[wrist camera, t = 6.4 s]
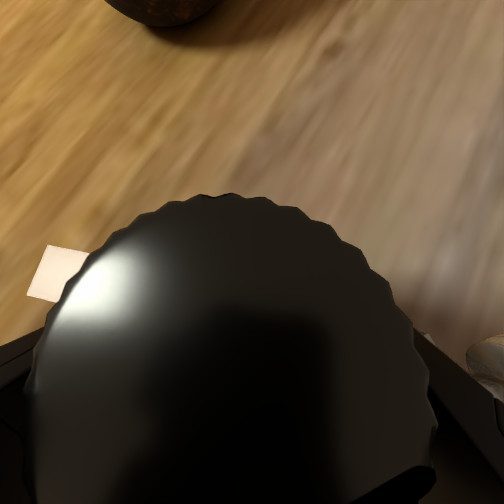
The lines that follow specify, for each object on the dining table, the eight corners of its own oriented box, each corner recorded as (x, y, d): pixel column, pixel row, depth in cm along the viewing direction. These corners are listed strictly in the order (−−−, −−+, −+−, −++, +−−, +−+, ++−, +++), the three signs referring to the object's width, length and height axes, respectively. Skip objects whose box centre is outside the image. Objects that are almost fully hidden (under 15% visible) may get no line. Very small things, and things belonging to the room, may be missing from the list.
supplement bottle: (294, 251, 15) (338, 52, 3) (347, 353, 13) (892, 715, 1) (201, 295, 15) (-70, 248, 3) (241, 402, 13) (-74, 1140, 1)
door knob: (457, 393, 13) (774, 547, 5) (410, 413, 13) (638, 600, 5) (413, 321, 14) (602, 340, 6) (371, 340, 14) (496, 385, 6)
